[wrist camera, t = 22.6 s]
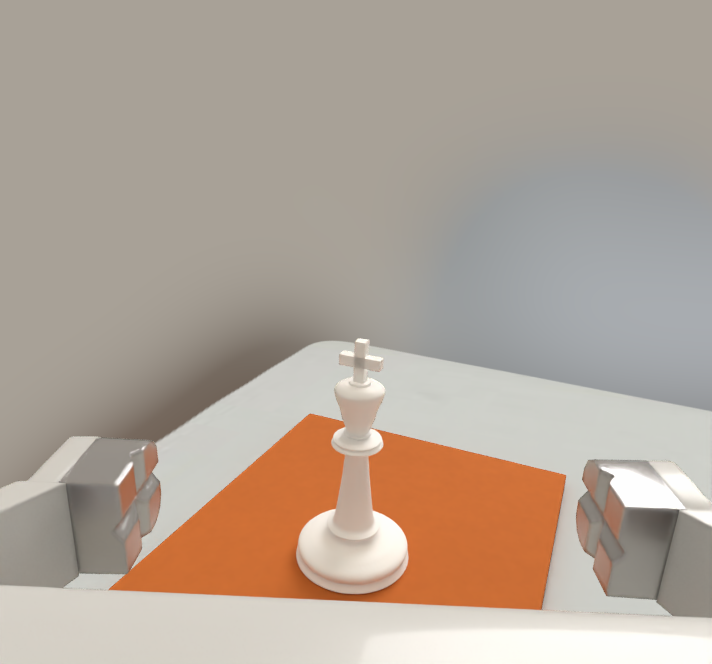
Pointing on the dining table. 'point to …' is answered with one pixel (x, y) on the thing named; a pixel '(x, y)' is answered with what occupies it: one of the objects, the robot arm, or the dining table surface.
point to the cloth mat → (389, 497)
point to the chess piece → (354, 497)
